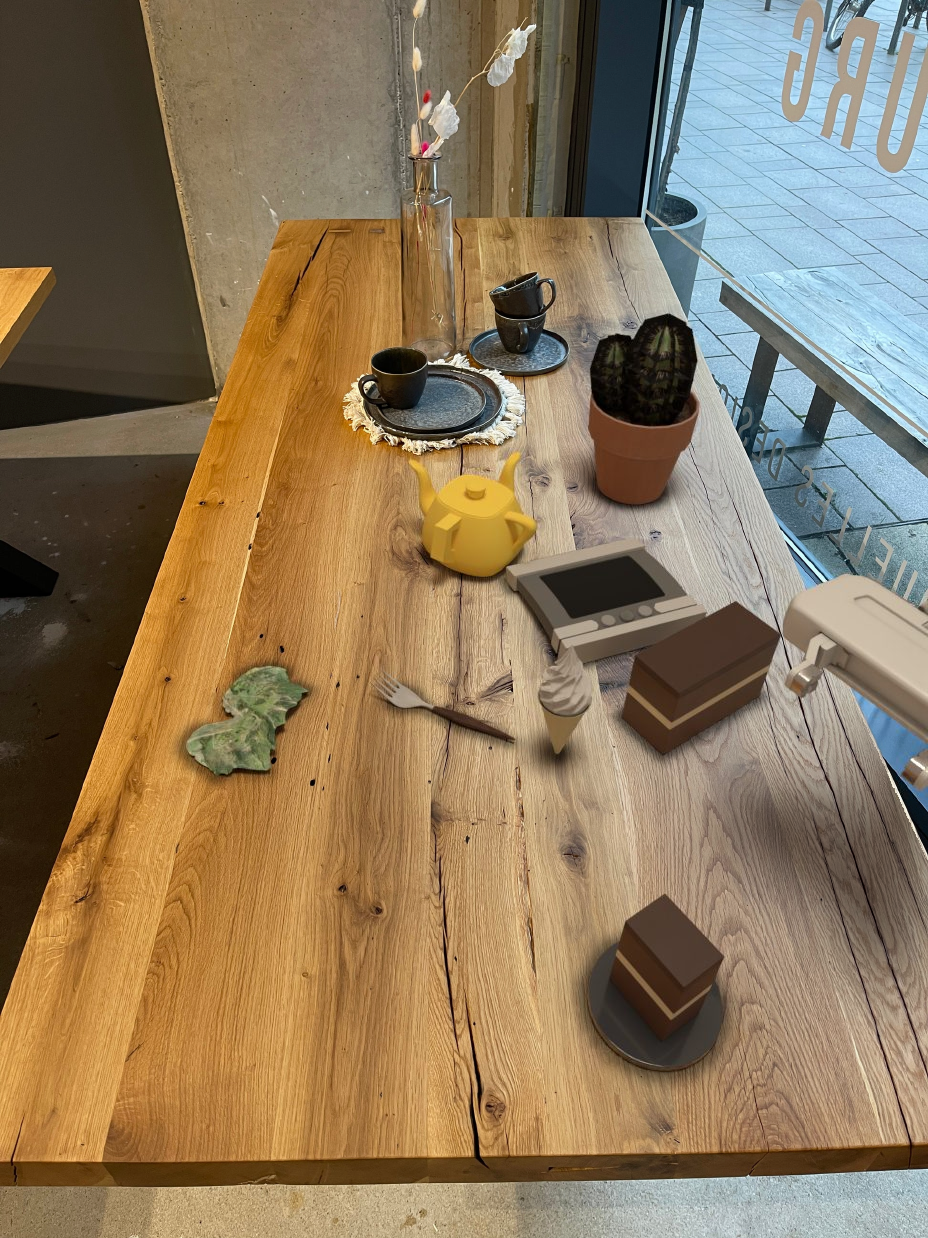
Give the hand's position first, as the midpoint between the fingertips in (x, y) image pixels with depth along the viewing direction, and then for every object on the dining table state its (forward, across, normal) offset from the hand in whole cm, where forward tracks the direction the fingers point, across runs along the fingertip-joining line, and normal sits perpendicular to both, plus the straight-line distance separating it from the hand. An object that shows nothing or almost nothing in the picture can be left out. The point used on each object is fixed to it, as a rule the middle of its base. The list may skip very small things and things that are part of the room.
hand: (850, 729), depth 60 cm
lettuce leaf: (+26, -44, +25) cm, 57 cm away
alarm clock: (-15, -38, +25) cm, 48 cm away
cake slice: (+12, 0, +24) cm, 27 cm away
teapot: (-9, -55, +25) cm, 61 cm away
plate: (+12, 0, +25) cm, 28 cm away
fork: (+9, -34, +25) cm, 43 cm away
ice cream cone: (+3, -24, +25) cm, 35 cm away
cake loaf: (-13, -20, +25) cm, 35 cm away
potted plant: (-35, -54, +25) cm, 69 cm away
